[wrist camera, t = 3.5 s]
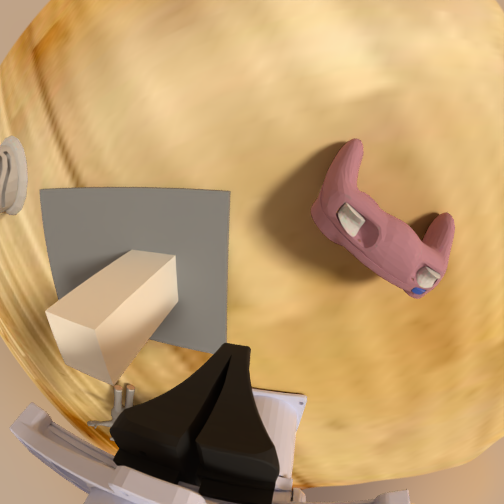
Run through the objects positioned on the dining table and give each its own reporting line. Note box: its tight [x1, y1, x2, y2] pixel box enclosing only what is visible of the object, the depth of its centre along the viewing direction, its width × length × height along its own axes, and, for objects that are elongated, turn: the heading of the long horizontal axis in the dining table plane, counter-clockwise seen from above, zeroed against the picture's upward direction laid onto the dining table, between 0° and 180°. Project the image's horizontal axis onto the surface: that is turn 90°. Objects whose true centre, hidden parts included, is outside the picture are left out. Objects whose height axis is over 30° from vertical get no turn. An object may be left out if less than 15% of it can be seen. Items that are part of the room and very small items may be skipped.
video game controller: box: [311, 139, 455, 299], centre depth 15 cm, size 10×5×7 cm, turn 61°
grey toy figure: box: [87, 384, 135, 441], centre depth 27 cm, size 10×6×9 cm
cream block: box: [45, 250, 178, 386], centre depth 17 cm, size 4×4×10 cm
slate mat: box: [40, 187, 230, 354], centre depth 22 cm, size 14×20×1 cm
